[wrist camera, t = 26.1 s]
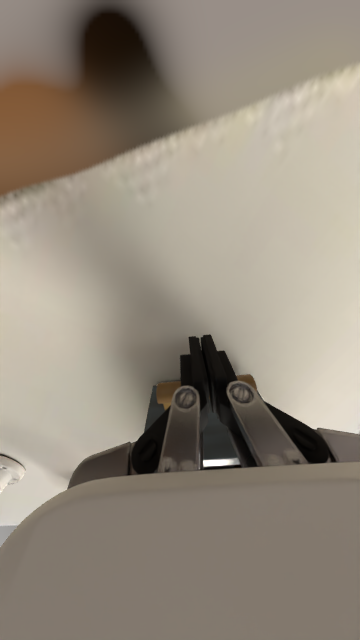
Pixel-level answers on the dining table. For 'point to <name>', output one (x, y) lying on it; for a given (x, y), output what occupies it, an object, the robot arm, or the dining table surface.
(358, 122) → the dining table surface
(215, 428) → the drawer
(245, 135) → the dining table surface
